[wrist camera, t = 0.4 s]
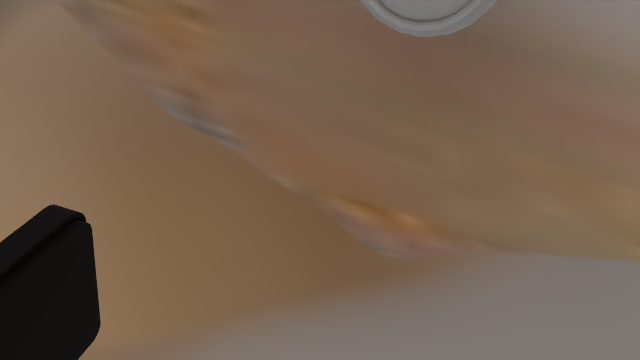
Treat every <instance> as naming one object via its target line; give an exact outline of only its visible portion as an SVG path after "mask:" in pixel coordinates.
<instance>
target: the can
mask: <svg viewBox="0 0 640 360" xmlns="http://www.w3.org/2000/svg"><path fill="white" fill-rule="evenodd" d="M360 1H361V2H362V3H363V5H364V6H365V7H366V8H367V9H368V10H369V11H370V12H371V13H372V14H373V15H374V17H375V18H376V19H377V20H378V21H380V22H382V23H384V24H385V25H387V26H389V27H391V28H392V29H394V30H396V31H398V32H400V33H405V34H409V35H414V36H419V37H432V36H442V35H449V34H451V33H454V32H456V31H458V30H461V29H463V28H465V27H468V26H470V25H472V24H473V23H475V22H476V21H477V20H478V19H479V18H480V17H482V16H483V15H484V14H485V13H486V12H488V11H489V10H490V9H491V8H492V7H493V6H494V5H495V3H496V2H497V0H360Z"/></svg>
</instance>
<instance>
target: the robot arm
mask: <svg viewBox="0 0 640 360" xmlns="http://www.w3.org/2000/svg"><path fill="white" fill-rule="evenodd" d="M99 328H100V312H99V302H98V292H97V280H96V269H95V258H94V247H93V236H92V228H91V225H90V224H89V223H86V218H85V216H84V215H83V214H82V213H80V212H77V211H73V210H70V209H67V208H64V207H61V206H57V205H49V206H48V207H46V208H44V209H43V210H42V211H40V212H39V213H38V214H37V215H35V216H34V217H33V218H32V219H30V220H29V221H28V222H26V223H25V224H24V225H22V226H21V227H20V228H18V229H17V230H16V231H14V232H13V233H12V234H11V235H9V236H8V237H7V238H5V239H4V240H3V241H2V242H0V360H78V359H79V357H80V356H81V355H82V354H83V353H84V352H85V350H86V349H87V348H88V347H89V346H90V345H91V343H92V342H93V341H94V339H95V338H96V336H97V334H98V331H99Z"/></svg>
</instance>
